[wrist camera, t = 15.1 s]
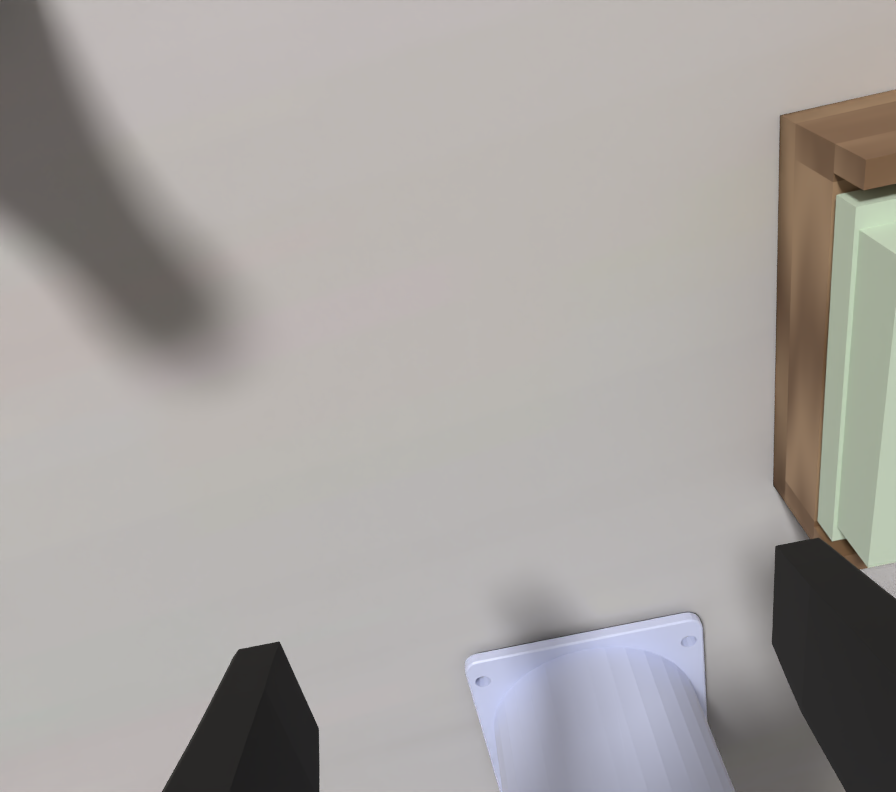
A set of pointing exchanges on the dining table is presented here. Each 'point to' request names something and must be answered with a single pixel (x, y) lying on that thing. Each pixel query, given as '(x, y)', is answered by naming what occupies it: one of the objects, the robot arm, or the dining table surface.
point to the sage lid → (861, 379)
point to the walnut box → (817, 277)
